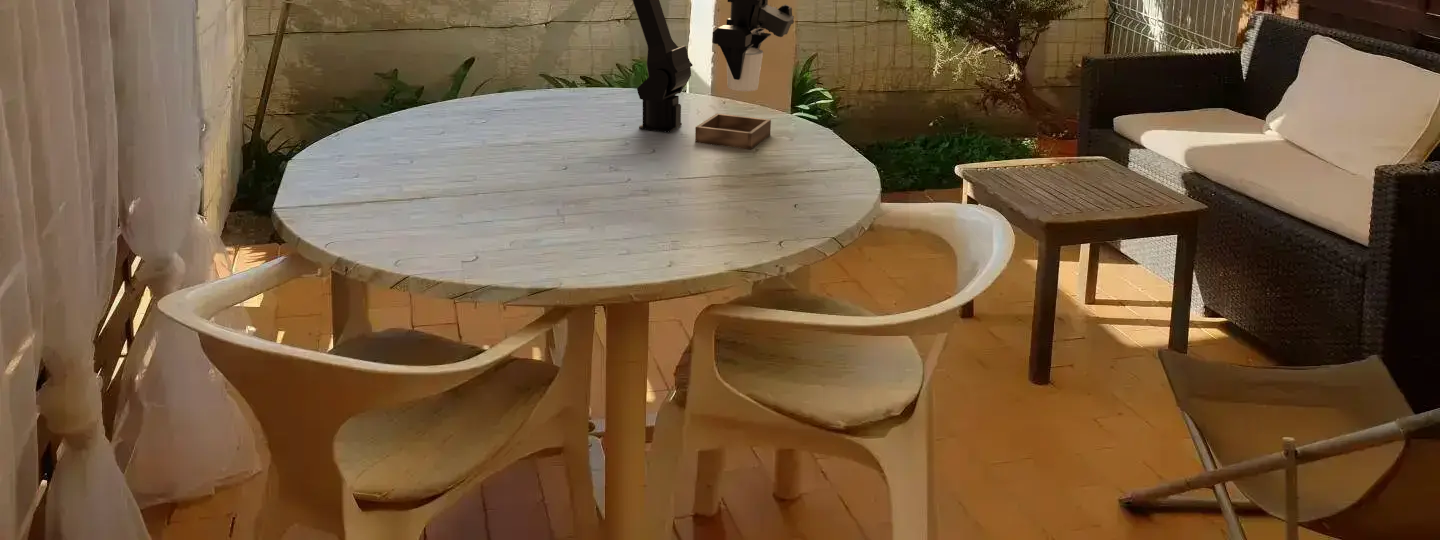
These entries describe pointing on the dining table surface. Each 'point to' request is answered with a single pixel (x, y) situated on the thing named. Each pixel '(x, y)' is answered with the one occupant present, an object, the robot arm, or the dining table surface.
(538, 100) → the dining table surface
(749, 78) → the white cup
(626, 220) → the dining table surface
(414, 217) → the dining table surface
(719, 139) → the walnut crate
